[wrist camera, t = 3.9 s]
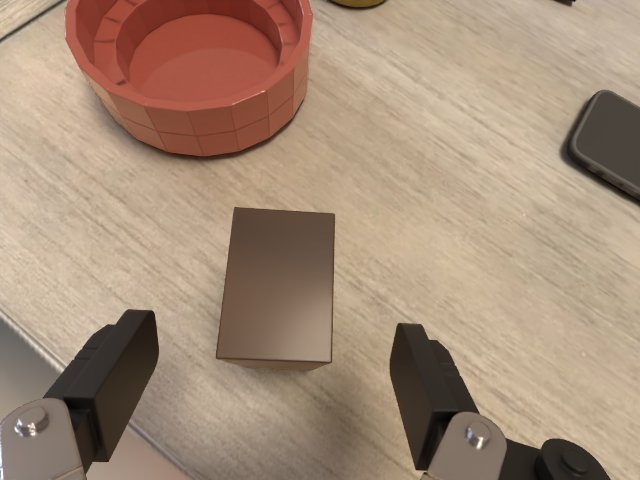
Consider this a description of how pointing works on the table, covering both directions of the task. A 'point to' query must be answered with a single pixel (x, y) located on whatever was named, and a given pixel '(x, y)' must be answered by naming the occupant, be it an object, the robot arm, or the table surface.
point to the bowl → (194, 67)
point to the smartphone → (609, 141)
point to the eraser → (278, 290)
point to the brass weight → (358, 2)
